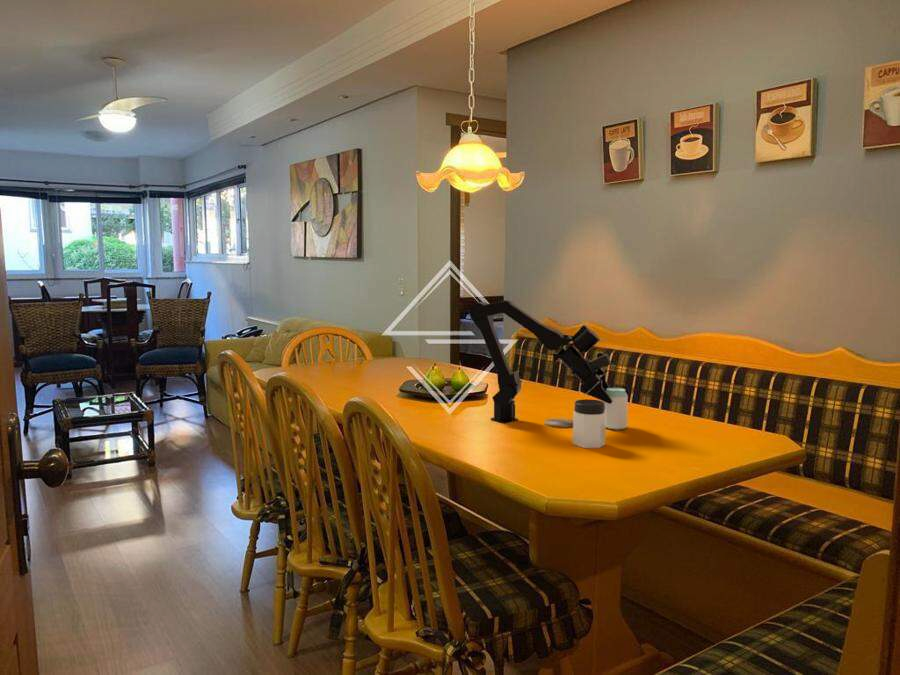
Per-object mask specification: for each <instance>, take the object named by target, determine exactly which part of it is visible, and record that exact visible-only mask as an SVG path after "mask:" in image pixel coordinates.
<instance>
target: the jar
mask: <svg viewBox="0 0 900 675" xmlns="http://www.w3.org/2000/svg"><path fill="white" fill-rule="evenodd" d="M572 412H573V414H572V416H573V417H572V420H573V427H572V445H573V444H574V446H576V445H577V447H579V448H582V449H601V448H602V447H604V446H605V445H606V427H605V424H606V412H605V403H604V401H602V400H600V399H587V398H586V399H579V400H578V399H577V400H575V401H574V411H572Z"/></svg>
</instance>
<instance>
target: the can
mask: <svg viewBox="0 0 900 675" xmlns="http://www.w3.org/2000/svg"><path fill="white" fill-rule="evenodd" d="M606 393H607V394H608V396H609V397H610V398H611V400H612V403H610V404H609V403H606V402H604V401H603V402H604V403H605V412H606V424H605V429H607V428H608V429H607V430H610V429H614V430H613V431H622V430H621V429H623V430H624V429H626V428H627V427H628V404H629V403H628V397H629V396H628V393H627V392H626V389H625V388H622V387H610V388H607V389H606Z"/></svg>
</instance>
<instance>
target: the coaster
mask: <svg viewBox="0 0 900 675" xmlns="http://www.w3.org/2000/svg"><path fill="white" fill-rule="evenodd" d="M544 423H545V424H544V425H545V426H547V425H548V426H547V427H550V426H552V427H551V428H555V427H560V428H559V429H566V428H565V427H570V428H573V419H569V418H558V417H557V418H556V417H555V418H550V419H545V421H544Z"/></svg>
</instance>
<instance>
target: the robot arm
mask: <svg viewBox="0 0 900 675" xmlns="http://www.w3.org/2000/svg"><path fill="white" fill-rule="evenodd" d="M499 314H504V315H506V316H507V317H509V318H510V319H511V320H513V321H515V322H516V323H518V324H519V325H520V326H522V327H523V328H524V329H526V330H527V331H529V332H531V333H532V334H533V336H535V337H536V339H537V340H538V341H539V342H540V343H541V344H542V346H544V348H546V349H548V351H556V350H558V351H557V352H553V353H552V358H553V359H552V362H553V363H556V362H557V361H558V360H559V361H561V362H562V363H563V364H564V365H565V367H567V368H568V369H569V370H570V371H571V372H570V373H571V374H572V375H573V376H574V375H575V376H576V377H577V378H578V380H579V381H580V383H581V384H580V391H581V392H582V393H583V394H584V395H587V396H590V397H593V398H594V399H596V400H599V401H602V402H606V403H609V404H610V403H612V400H611V398H610V397H609V396H608V394H607V393H606V389H607V388H611V387H610V386H609V384H608V383H607V380H606V376H607V374H606V370H605V369H604V367H608V366H609V367H610V366H611V365H612V362H611V359H610V356H609V355H608V353H603V352H602V351H601V352H598V353H596V358H593V359H591V360H590V359H589V358H588V357H586V358H585V357H584V356H583V355H582V354H581V353H584V352H585V353H588V352H590V350H591V349H593V347H594V346H596V345H597V343H599V342H600V341H601V338H600V337H599V336H598V334H596V332H595V331H594V330H592V329H590V328H589V327H588V326H587V325H586V324H583V325H582V326H581V327H580V328H579V330H578V331H577V332H576V333H575V334H574V335H569V334H564V333H563V332H562V331H561V330H559V329H556V328H554V327H552V326H548V325H546V324H543V323H541V321H539V320H537V319H536V318H534V317H533V316H532V315H531V314H529V313H527V312H526V311H524V310H523V309H521V308H520V307H519V306H517V305H515V304H514V303H513V302H512V301H511V300H509V299H504V300H501V301H498V302H491V303H488V302H485V301H480V302H475V303H473V304H472V305H471V306H470V307H469V310H468V315H469V318H470V319H471V320H472V322H473V324H474V325H475V327H476V328H477V329H478V330H479V331H480V333H481V335H482V337H483V340H484V344H485V345H486V348H487V351H488V353H489V355H490V358H491V361H492V363H493V366H494V369H495V372H496V374H497V384H498V385H497V386H498V389H499V391H497V392H496V393H495V394H494V395H493V396H492V400H493V417H490V420H491V421H495V422H498V423H501V424H506V423H511V422H516V421H519V418H517V417H516V404H515V402H516V401H515V400H514V399H515V398H516V396H517V395H519V393H520V392H521V391H522V383H523V381H522V380H521V378H520V376H519V371H518V370H516V371H513V370H512V368H511V367H510V366H509V363H508V360H507V357H506V354H505V352H504V350H503V347H502V345H501V342H500V340H499V337H498V334H497V332H496V330H495V327H494V317H493V316H494V315H499ZM571 342H572V343H571ZM569 343H571V344H570V345H569ZM567 345H568V347H566V346H567ZM562 346H563V347H562ZM561 347H562V348H561ZM560 348H561V349H560ZM559 349H560V350H559Z"/></svg>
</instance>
